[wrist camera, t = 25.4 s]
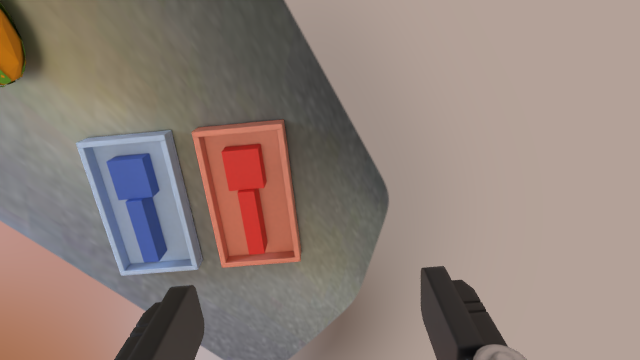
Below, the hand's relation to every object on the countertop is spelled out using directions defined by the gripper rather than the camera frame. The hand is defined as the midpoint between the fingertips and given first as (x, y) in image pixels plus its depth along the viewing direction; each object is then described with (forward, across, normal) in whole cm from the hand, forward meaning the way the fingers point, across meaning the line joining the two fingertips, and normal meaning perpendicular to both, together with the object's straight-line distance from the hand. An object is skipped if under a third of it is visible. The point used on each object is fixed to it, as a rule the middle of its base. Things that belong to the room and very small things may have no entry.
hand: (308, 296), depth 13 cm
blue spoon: (+28, +20, +8) cm, 35 cm away
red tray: (+28, +8, +8) cm, 30 cm away
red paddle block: (+28, +8, +8) cm, 30 cm away
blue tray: (+28, +20, +8) cm, 35 cm away
